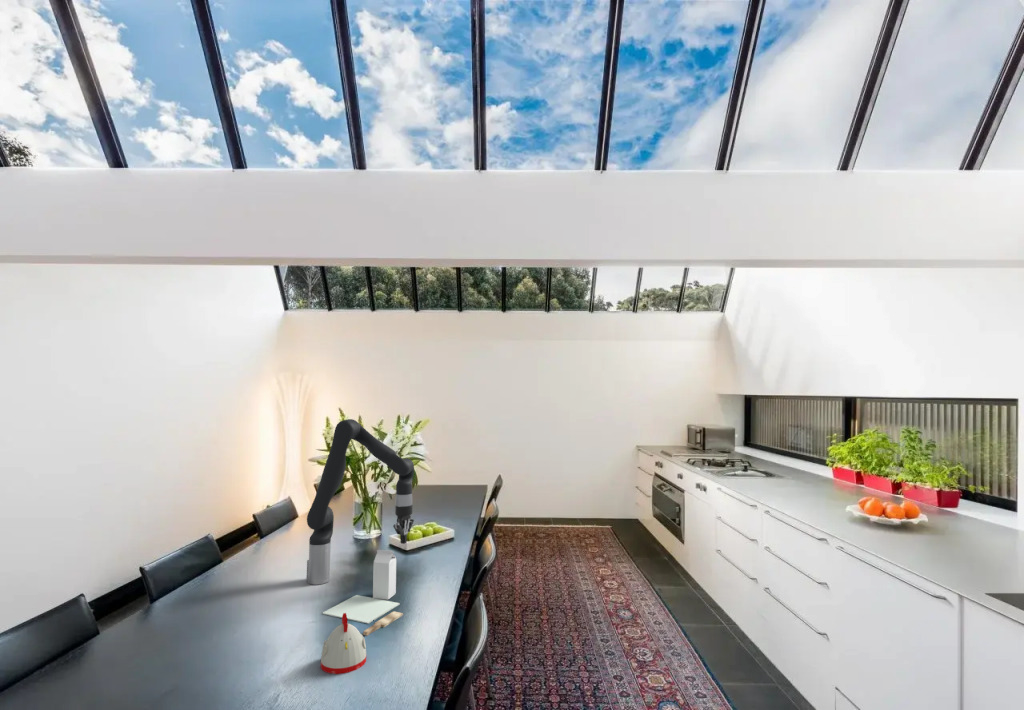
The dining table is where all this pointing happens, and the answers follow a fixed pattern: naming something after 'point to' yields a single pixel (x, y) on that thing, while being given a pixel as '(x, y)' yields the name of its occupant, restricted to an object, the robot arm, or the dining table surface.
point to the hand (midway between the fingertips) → (403, 543)
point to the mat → (361, 609)
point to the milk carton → (384, 575)
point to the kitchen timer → (343, 649)
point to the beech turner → (383, 622)
